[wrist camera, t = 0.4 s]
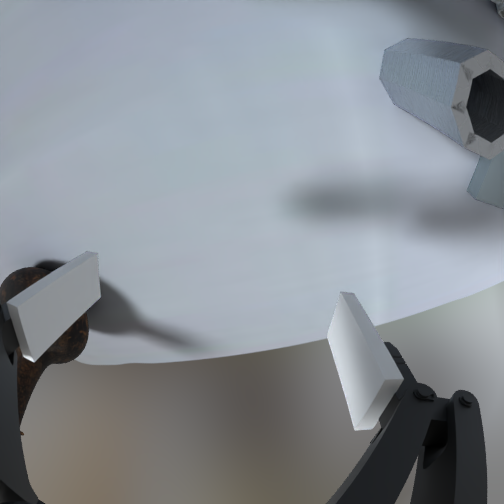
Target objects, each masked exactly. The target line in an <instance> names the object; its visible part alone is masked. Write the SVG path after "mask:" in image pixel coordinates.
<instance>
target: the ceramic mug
mask: <svg viewBox="0 0 504 504" xmlns="http://www.w3.org/2000/svg"><path fill="white" fill-rule="evenodd" d="M491 1H492V2H494V3H496V6H497V12H498V14H499V15H500V16H501V17H502V18H504V0H491Z"/></svg>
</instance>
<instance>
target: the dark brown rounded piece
mask: <svg viewBox="0 0 504 504" xmlns="http://www.w3.org/2000/svg"><path fill="white" fill-rule="evenodd" d="M50 273H51V272H50V271H48V270H45V269H42V268H37V267H28V268H22V269H19V270H16V271H15V272H13V273H11V274H10V275H9V276H8V277H7V278H6V279H5V280H4V281H3V283H2V285H1V287H0V302H1V305H3V304H4V303H5V302H7V301H8V300H10V299H11V298H13V297H14V296H16V295H17V294H19V293H20V292H21V291H24V289H26V288H27V287H29V286H30V285H33V284H34V283H36V282H37V281H39V280H40V279H42V278H44V277H45V276H47V275H48V274H50ZM88 334H89V326H88V319H87V314H86V312H85V313H83V314H82V315H81V316H80V317H79V318H78V319H77V320H76V321H75V322H74V323H73V324H72V325H71V326H70V327H69V328H68V329H67V330H66V331H65V332H64V333H63V334H62V335H61V336H60V337H59V338H58V339H57V340H56V341H55V342H54V343H53V344H52V345H51V346H50V347H49V348H48V349H47V350H46V351H45V352H44V353H43V354H42V355H41V356H40V357H39V358H38V359H37V360H36V361H35V362H32V361H30V360H28V359H27V358H25V357H23V354H22V352H21V349H20V346H19V347H18V348H17V349H16V353H17V399H18V415H19V426H20V425H21V421H22V418H23V415H24V412H25V410H26V407H27V404H28V401H29V399H30V396H31V394H32V392H33V390H34V388H35V386H36V383H37V381H38V380H39V378H40V376H41V374H42V373H43V371H44V370H45V369H46V368H47V366H49V365H50V364H62V363H67V362H70V361H72V360H74V359H75V358H77V357H78V356H79V355H80V354H81V353H82V351H83V350H84V348H85V346H86V343H87V340H88ZM20 435H24V433H23V432H21V431H20Z"/></svg>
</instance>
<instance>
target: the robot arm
mask: <svg viewBox="0 0 504 504" xmlns="http://www.w3.org/2000/svg"><path fill="white" fill-rule="evenodd" d="M100 298H101V292H100V280H99V265H98V253H95V252H90V251H86V252H85V253H83V254H81V255H80V256H78V257H76V258H74V259H73V260H71V261H69V262H68V263H66V264H64V265H63V266H61V267H60V268H58V269H56V270H55V271H53V272H51V273H50V274H48V275H47V276H45V277H44V278H42V279H40V280H39V281H37V282H36V283H34V284H33V285H30V286H29V287H27V288H26V289H24V291H21V292H20V293H19V294H17V295H16V296H14V297H13V298H11V299H10V300H8V301H7V302H5V303H4V304H3V305H1V302H0V504H45V503H43V502H42V501H40V500H39V499H38V497H37V495H36V494H35V492H34V491H33V489H32V487H31V485H30V483H29V479H28V475H27V470H26V465H25V460H24V455H23V449H22V442H21V435H20V426H19V415H18V399H17V353H16V349H17V348H18V347H19V346H20V349H21V352H22V354H23V357H25V358H27V359H28V360H30V361H32V362H35V361H36V360H37V359H38V358H39V357H40V356H41V355H42V354H43V353H44V352H45V351H46V350H47V349H48V348H49V347H50V346H51V345H52V344H53V343H54V342H55V341H56V340H57V339H58V338H59V337H60V336H61V335H62V334H63V333H64V332H65V331H66V330H67V329H68V328H69V327H70V326H71V325H72V324H73V323H74V322H75V321H76V320H77V319H78V318H79V317H80V316H81V315H82V314H83V313H85V312H86V311H87V310H88V309H89V308H90V307H91V306H92V305H93V304H94V303H95V302H96V301H97V300H98V299H100ZM327 338H328V341H329V344H330V347H331V351H332V354H333V357H334V360H335V364H336V367H337V370H338V373H339V377H340V380H341V384H342V387H343V391H344V394H345V397H346V401H347V404H348V408H349V412H350V415H351V419H352V423H353V426H354V430H368V429H373V427H374V426H375V424H376V423H377V421H378V420H379V421H380V424H381V429H380V430H379V431H378V433H377V434H376V436H375V437H374V438H373V439H372V441H371V442H370V443H371V444H370V446H369V447H368V449H367V450H366V452H365V453H364V455H363V456H362V458H361V459H360V461H359V462H358V463H357V465H356V466H355V468H354V469H353V470H352V472H351V473H350V474H349V476H348V477H347V478H346V480H345V481H344V483H343V484H342V485H341V486H340V488H339V489H338V490H337V491H336V493H335V494H334V495H333V496H332V497H331V499H330V500H329V501H328V502H327V503H326V504H394V503H395V502H396V500H397V498H398V496H399V494H400V492H401V490H402V488H403V486H404V484H405V482H406V480H407V478H408V476H409V474H410V472H411V470H412V468H413V465H414V463H415V461H416V459H417V456H418V462H417V469H416V476H415V481H414V487H413V492H412V497H411V502H410V504H487V466H486V452H485V442H484V433H483V427H482V420H481V414H480V408H479V403H478V401H477V399H476V397H475V396H474V395H473V394H471V393H470V392H468V391H465V390H458V391H456V392H455V393H454V394H453V396H452V397H451V399H445V398H438V397H437V396H436V393H435V392H434V391H433V390H432V389H431V388H430V387H429V386H427V385H425V384H422V383H417V381H416V380H415V378H414V376H413V374H412V373H411V371H410V369H409V368H408V366H407V364H405V361H404V359H403V358H402V356H401V354H400V353H399V351H398V349H397V348H396V347H394V346H393V345H392V344H391V343H390V342H383V341H382V339H381V337H380V335H379V334H378V332H377V330H376V329H375V327H374V325H373V324H372V322H371V320H370V319H369V317H368V315H367V314H366V312H365V310H364V309H363V307H362V305H361V304H360V302H359V301H358V299H357V297H356V296H355V294H354V293H348V292H340V295H339V298H338V302H337V305H336V308H335V312H334V315H333V318H332V321H331V324H330V328H329V331H328V334H327Z"/></svg>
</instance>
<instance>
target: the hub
mask: <svg viewBox="0 0 504 504" xmlns="http://www.w3.org/2000/svg"><path fill="white" fill-rule="evenodd" d="M379 79H380V80H381V82H382V84H383V85H384V87H385V89H386V91H387V92H388V94H389V96H390V98H391V100H392V101H393V103H394V105H396V106H398V107H400V108H401V109H403V110H405V111H407V112H409V113H410V114H412V115H414V116H416V117H417V118H419V119H421V120H423V121H424V122H426V123H427V124H429V125H431V126H432V127H434V128H436V129H437V130H439V131H440V132H442V133H443V134H445V135H446V136H448V137H449V138H451V139H452V140H454V141H455V142H457V143H458V144H459V145H461V146H462V147H464V148H466V149H468V150H470V151H472V152H474V153H477V154H479V155H481V156H483V157H485V158H487V159H489V160H491V159H492V158H493V157H495V156H496V155H498V154H499V153H501V152H502V151H503V150H504V62H503V61H502V60H501V59H499V58H498V57H497V56H496V55H494V54H493V53H492V52H490V51H489V50H487V49H483V48H478V47H473V46H468V45H463V44H457V43H450V42H443V41H435V40H424V39H411V38H407V39H405V40H403V41H401V42H399V43H397V44H395V45H393V46H391V47H389V48H387V49H386V50H385V51H384V56H383V62H382V67H381V73H380V78H379Z"/></svg>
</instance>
